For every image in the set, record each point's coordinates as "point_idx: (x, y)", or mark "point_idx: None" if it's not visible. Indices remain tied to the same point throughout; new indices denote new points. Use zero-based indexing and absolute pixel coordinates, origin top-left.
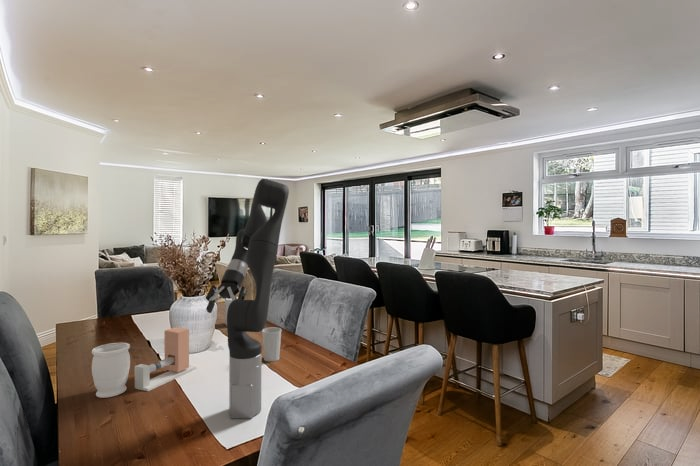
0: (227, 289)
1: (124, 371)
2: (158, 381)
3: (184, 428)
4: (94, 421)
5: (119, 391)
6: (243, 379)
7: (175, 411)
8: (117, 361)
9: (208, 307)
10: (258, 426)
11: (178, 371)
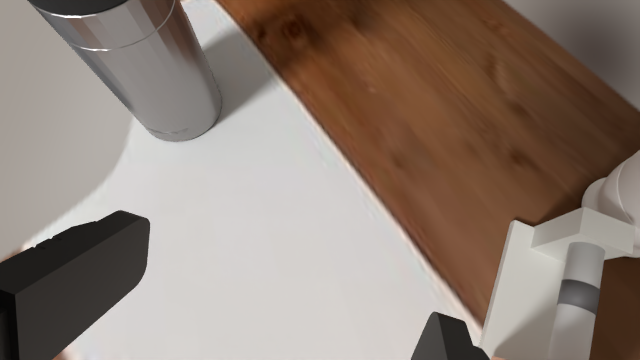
0: None
1: (630, 177)
2: (520, 280)
3: (306, 45)
4: (525, 73)
5: (589, 197)
6: None
7: (360, 108)
8: None
9: (457, 342)
10: None
11: (493, 357)
